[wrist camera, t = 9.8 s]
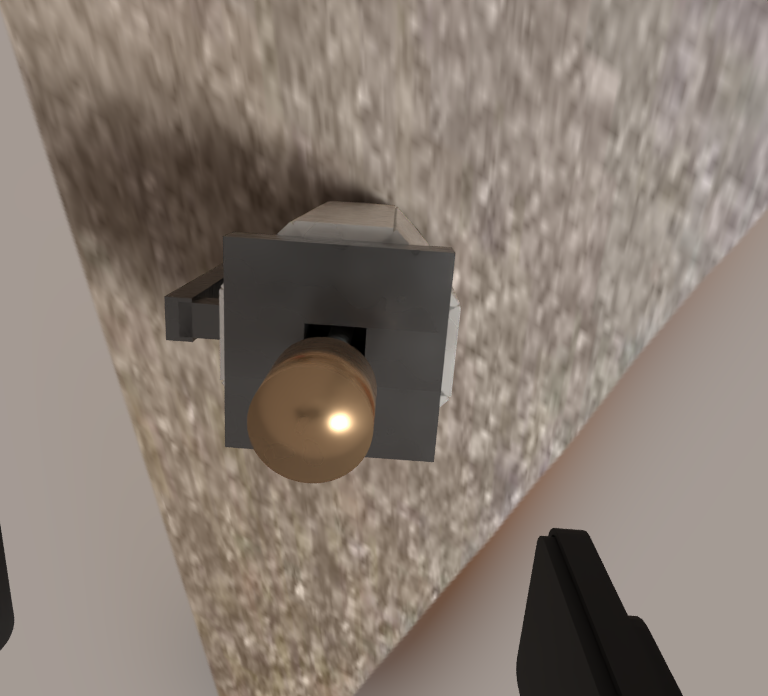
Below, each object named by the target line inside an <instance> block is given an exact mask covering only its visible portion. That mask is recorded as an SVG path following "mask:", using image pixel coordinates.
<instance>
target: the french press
mask: <svg viewBox="0 0 768 696" xmlns="http://www.w3.org/2000/svg"><path fill="white" fill-rule="evenodd" d="M454 261H455V252H454V250H453V249H452V248H451V247H437V246H430V245H429V244H428V242H427V241H426V240H425V239H424V238H423V236H422V235H421V233H420V232H419V231H418V229H417V228H416V227H415V226H414V225H413V224H412V223H411V222H410V221H409V220H408V219H407V218H406V216H405V215H404V214H403V213H402V212H401V210H400V209H399V208H398V207H396V208H395V205H382V204H374V203H367V202H340V201H328V202H326V203H324V204H322V205H320V206H318V207H317V208H315V209H313V210H311V211H309V212H307V213H306V214H304V215H302V216H300V217H298V218H296V219H294V220H293V221H291V222H289V223H288V224H287V225H286V226H285V227H284V228H283V229H282V230H281V231H280V232H279V233H278V234H276V235H271V234H257V233H243V232H232V233H230V234H227V235H225V236H223V264H221V265H219V266H217V267H215V268H214V269H212V270H210V271H208V272H207V273H205V274H203V275H201V276H200V277H198V278H196V279H194V280H193V281H191V282H189V283H187V284H186V285H184V286H182V287H180V288H179V289H177V290H175V291H173V292H172V293H170V294H168V295H166V296H165V322H166V340H173V341H187V342H193V341H194V340H195V339H197V338H204V339H218V340H220V380H224V381H223V382H222V384H223V385H224V386H225V447H233V448H247V449H254V448H253V446H252V444H251V441H250V439H249V435H248V430H247V415H248V410H249V406H250V404H251V401H252V399H253V397H254V395H255V394H256V392H257V390H258V389H259V387H260V386H261V384H262V382H263V381H264V379H265V377H266V376H267V374H268V373H269V371H270V369H271V368H272V366H273V365H274V363H275V361H276V360H277V358H278V357H279V356H280V355H281V354H282V353H283V352H284V351H285V350H286V349H287V348H288V347H290V346H291V345H293V344H295V343H296V342H299V341H301V340H304V339H308V338H314V337H323V336H322V335H321V334H319V333H318V332H317V331H316V330H315V329H314V328H313V327H312V326H311V324H321V325H335V326H349V327H363V328H367V329H366V345H365V346H360V347H354V348H355V349H357V350H358V351H359V352H360V353H361V354H362V355H363V356H364V357H365V358H366V360H367V361H368V362H369V364H370V366H371V367H372V370H373V372H374V375H375V378H376V384H377V397H376V407H375V418H374V429H373V437H372V441H371V445H370V447H369V450H368V452H367V454H366V455H365V457H371V458H384V459H398V460H412V461H426V462H434V455H435V445H436V435H437V426H438V416H439V407H440V406H442V405H443V404H444V403H445V402H447V401H448V400H449V396H451V392H452V383H453V374H454V364H455V355H456V346H457V337H458V328H459V319H460V309H461V306H460V303H459V301H458V298H457V296H456V294H455V292H454V289H453V287H452V280H453V271H454Z"/></svg>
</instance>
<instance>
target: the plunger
mask: <svg viewBox="0 0 768 696" xmlns="http://www.w3.org/2000/svg"><path fill="white" fill-rule="evenodd" d="M311 326H312V327H313V328H314V329H315V330H316V331H317V332H318V333H319V334H321V335H322V336H323V337H314V338H308V339H304V340H301V341H299V342H296V343H295V344H293V345H291V346H290V347H288V348H287V349H286V350H285V351H284V352H283V353H282V354H281V355H280V356H279V357H278V358H277V360H276V361H275V363H274V365H273V366H272V368H271V369H270V371H269V373H268V374H267V376H266V377H265V379H264V381H263V382H262V384H261V386H260V387H259V389H258V390H257V392H256V394H255V395H254V397H253V399H252V401H251V404H250V406H249V410H248V415H247V430H248V435H249V439H250V441H251V444H252V446H253V448H254V450H255V452H256V453H257V455H258V456H259V458H260V459H261V460H262V461H263V462H264V463H265V464H266V465H267V466H268V467H269V468H270V469H272V470H273V471H275V472H276V473H278V474H279V475H281V476H283V477H285V478H288V479H291V480H294V481H298V482H304V483H323V482H328V481H332V480H335V479H338V478H340V477H342V476H344V475H346V474H347V473H349V472H350V471H352V470H353V469H354V468H355V467H356V466H358V465H359V463H360V462H361V461H362V460H363V458H364V457H365V455H366V454H367V452H368V450H369V447H370V445H371V441H372V437H373V429H374V418H375V407H376V397H377V384H376V378H375V375H374V372H373V370H372V367H371V366H370V364H369V362H368V361H367V360H366V358H365V357H364V356H363V355H362V354H361V353H360V352H359V351H358V350H357V349H355V348H354V347H360V346H365V345H366V329H367V328H363V327H349V326H335V325H321V324H311Z"/></svg>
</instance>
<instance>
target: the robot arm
mask: <svg viewBox="0 0 768 696" xmlns="http://www.w3.org/2000/svg"><path fill="white" fill-rule="evenodd" d="M13 626H14V613H13V607H12V600H11V593H10V587H9V580H8V573H7V566H6V560H5V553H4V547H3V540H2V533H1V526H0V650H1V649H2V648H3V647H4V645H5V644H6V643H7V641H8V640H9V638H10V636H11V633H12V630H13ZM516 671H517V672H516V674H517V682H518V688H519V693H520V696H683V695H682V693H681V691H680V689H679V687H678V685H677V683H676V681H675V679H674V677H673V676H672V674H671V672H670V670H669V668H668V666H667V664H666V662H665V660H664V658H663V656H662V654H661V652H660V650H659V648H658V646H657V644H656V642H655V640H654V639H653V637H652V635H651V633H650V631H649V629H648V627H647V625H646V624H645V623H644V621H643V620H642V619H641V618H639V617H638V616H628V615H627V613H626V611H625V609H624V607H623V604H622V602H621V600H620V598H619V596H618V594H617V592H616V590H615V588H614V586H613V584H612V582H611V580H610V577H609V575H608V573H607V571H606V569H605V567H604V565H603V563H602V561H601V559H600V557H599V555H598V553H597V550H596V548H595V546H594V544H593V542H592V540H591V538H590V536H589V534H588V533H587V532H586V531H584V530H573V529H559V528H552V529H551V530H550V532H549V535H548V536H540V537H539V538H538V541H537V546H536V551H535V557H534V563H533V569H532V574H531V580H530V586H529V592H528V598H527V603H526V610H525V615H524V621H523V627H522V632H521V638H520V644H519V650H518V656H517V666H516Z"/></svg>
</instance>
